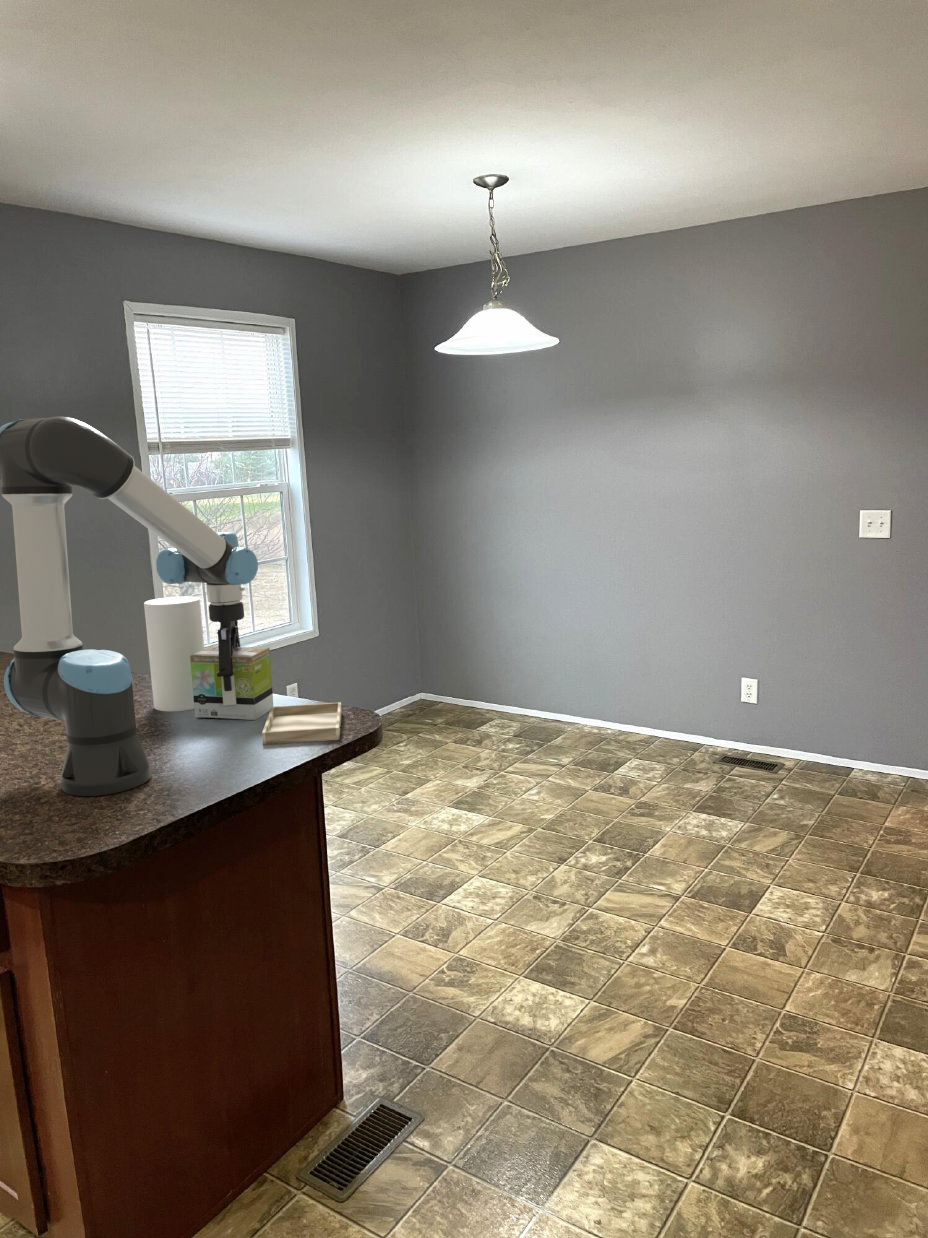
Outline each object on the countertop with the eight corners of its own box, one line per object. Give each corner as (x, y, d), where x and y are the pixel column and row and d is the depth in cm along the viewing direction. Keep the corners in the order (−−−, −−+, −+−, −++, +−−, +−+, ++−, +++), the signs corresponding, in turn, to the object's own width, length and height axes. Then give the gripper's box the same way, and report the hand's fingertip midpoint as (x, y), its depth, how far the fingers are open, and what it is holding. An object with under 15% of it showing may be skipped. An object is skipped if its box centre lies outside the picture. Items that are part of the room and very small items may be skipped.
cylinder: (215, 696, 227) (206, 595, 223) (199, 710, 215) (190, 603, 210) (164, 698, 227) (154, 597, 223) (146, 712, 215) (135, 605, 211)
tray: (339, 739, 188) (338, 727, 187) (262, 744, 186) (262, 732, 186) (341, 713, 208) (341, 702, 207) (272, 717, 206) (271, 706, 206)
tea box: (193, 719, 207) (187, 654, 205) (215, 707, 217) (210, 645, 214) (256, 721, 204) (250, 655, 201) (275, 708, 214) (270, 645, 211)
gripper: (235, 609, 195) (244, 710, 198) (249, 593, 218) (256, 684, 222) (199, 611, 194) (208, 712, 198) (216, 595, 217) (224, 686, 221)
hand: (233, 697), depth 210 cm, fingers closed on tea box, 12 cm apart
